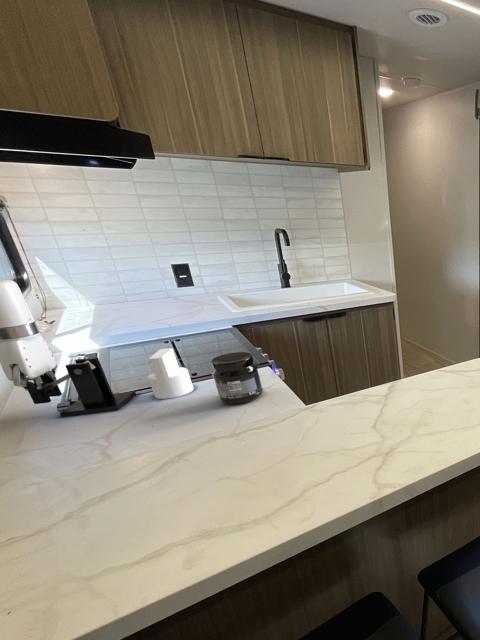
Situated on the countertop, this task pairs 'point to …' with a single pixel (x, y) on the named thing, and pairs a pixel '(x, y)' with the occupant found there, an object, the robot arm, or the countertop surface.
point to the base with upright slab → (168, 375)
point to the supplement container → (236, 378)
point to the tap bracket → (93, 390)
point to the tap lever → (50, 386)
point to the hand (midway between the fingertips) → (48, 398)
